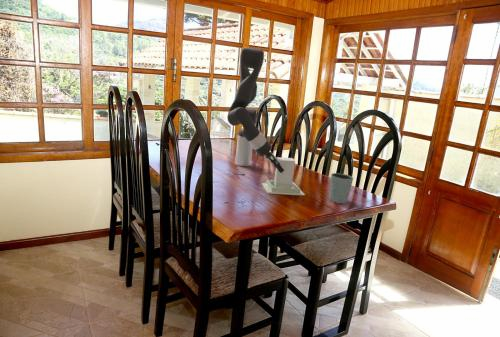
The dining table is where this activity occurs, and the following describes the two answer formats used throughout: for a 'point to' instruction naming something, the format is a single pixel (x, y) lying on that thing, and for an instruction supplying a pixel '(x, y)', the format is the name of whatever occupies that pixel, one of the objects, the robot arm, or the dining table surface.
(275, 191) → the tray
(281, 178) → the skincare box
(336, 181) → the grey plant pot
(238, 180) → the dining table surface
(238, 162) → the robot arm
